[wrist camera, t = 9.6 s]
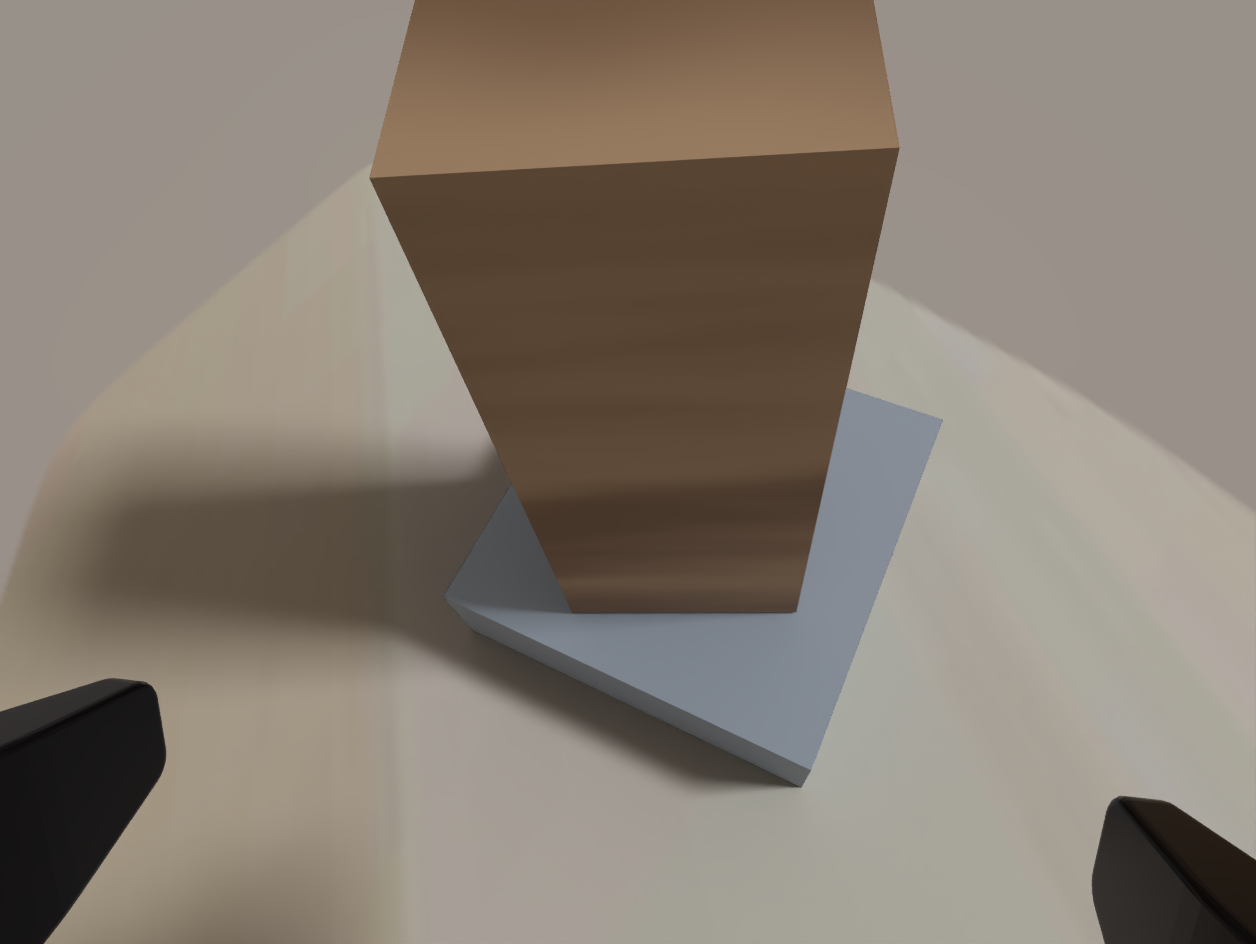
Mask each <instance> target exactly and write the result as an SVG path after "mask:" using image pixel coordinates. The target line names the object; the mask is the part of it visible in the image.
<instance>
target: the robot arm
mask: <svg viewBox="0 0 1256 944" xmlns="http://www.w3.org/2000/svg"><path fill="white" fill-rule="evenodd" d="M165 762H166V746H165V740H164V734H163V728H162V721H161V715H160V709H159V703H158V698H157V694H156V692H155V690H154V689H153V687H152V686H151V685H149V684H148V683H146V682H142V681H134V680H125V679H117V678H110V679H104V680H101V681H97V682H94V683H91V684H88V685H85V686H81V687H78V688H75V689H72V690H68V691H65V692H62V693H59V694H56V695H52V696H49V697H46V698H43V699H39V700H36V701H33V702H30V703H27V704H23V705H20V706H17V707H14V708H10V709H7V710H4V711H1V712H0V944H44V943H45V942H46V940H47V939H48V938H49V936H50V935H51V934H52V933H53V931H54V930H55V929H56V927H57V926H58V925H59V924H60V922H61V921H62V920H63V918H64V917H65V916H66V914H67V913H68V911H69V910H70V909H71V907H72V906H73V904H74V903H75V902H76V900H77V899H78V897H79V896H80V895H81V893H82V892H83V890H84V889H85V887H86V886H87V884H88V883H89V881H90V880H91V878H92V877H93V875H94V874H95V873H96V871H97V870H98V868H99V867H100V865H101V864H102V862H103V861H104V859H105V858H106V856H107V855H108V853H109V852H110V850H111V849H112V848H113V846H114V845H115V843H116V842H117V840H118V839H119V837H120V836H121V834H122V833H123V831H124V830H125V828H126V827H127V825H128V824H129V823H130V821H131V820H132V818H133V817H134V815H135V814H136V812H137V811H138V809H139V808H140V806H141V805H142V803H143V802H144V800H145V799H146V798H147V796H148V795H149V793H150V792H151V790H152V789H153V787H154V786H155V784H156V783H157V781H158V780H159V778H160V776H161V774H162V772H163V769H164V766H165ZM1092 895H1093V902H1094V906H1095V910H1096V913H1097V917H1098V921H1099V924H1100V928H1101V932H1102V935H1103V939H1104V942H1105V944H1256V860H1255V859H1254V858H1252V857H1251V856H1249V855H1248V854H1246V853H1245V852H1243V851H1242V850H1240V849H1239V848H1237V847H1236V846H1234V845H1233V844H1231V843H1230V842H1228V841H1227V840H1225V839H1224V838H1222V837H1221V836H1219V835H1218V834H1216V833H1215V832H1213V831H1212V830H1210V829H1209V828H1207V827H1206V826H1204V825H1203V824H1201V823H1200V822H1198V821H1197V820H1195V819H1194V818H1192V817H1191V816H1189V815H1188V814H1186V813H1185V812H1183V811H1182V810H1181V809H1179V808H1178V807H1176V806H1175V805H1173V804H1171V803H1169V802H1166V801H1163V800H1155V799H1146V798H1137V797H1128V796H1118V797H1117V798H1115V799H1113V800H1112V801H1111V803H1110V804H1109V806H1108V808H1107V811H1106V815H1105V820H1104V824H1103V829H1102V833H1101V838H1100V842H1099V846H1098V851H1097V855H1096V860H1095V864H1094V869H1093V874H1092Z"/></svg>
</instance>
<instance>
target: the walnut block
mask: <svg viewBox="0 0 1256 944" xmlns="http://www.w3.org/2000/svg"><path fill="white" fill-rule="evenodd" d="M898 152H899V142H898V136H897V131H896V124H895V119H894V113H893V108H892V102H891V96H890V91H889V85H888V80H887V74H886V69H885V63H884V58H883V53H882V46H881V41H880V35H879V29H878V24H877V18H876V13H875V7H874V1H873V0H415V3H414V7H413V10H412V14H411V18H410V22H409V26H408V30H407V34H406V38H405V41H404V45H403V49H402V53H401V57H400V61H399V65H398V69H397V73H396V76H395V80H394V84H393V88H392V92H391V96H390V100H389V104H388V108H387V112H386V115H385V119H384V123H383V127H382V131H381V135H380V139H379V143H378V147H377V150H376V155H375V158H374V162H373V166H372V170H371V174H370V180H371V182H372V184H373V187H374V189H375V191H376V193H377V195H378V197H379V199H380V202H381V204H382V206H383V208H384V210H385V212H386V214H387V217H388V219H389V221H390V223H391V225H392V227H393V230H394V232H395V234H396V236H397V238H398V240H399V242H400V245H401V247H402V249H403V251H404V253H405V255H406V257H407V260H408V262H409V264H410V266H411V268H412V270H413V272H414V275H415V277H416V279H417V281H418V283H419V285H420V287H421V290H422V292H423V294H424V296H425V298H426V300H427V302H428V305H429V307H430V309H431V311H432V313H433V315H434V317H435V320H436V322H437V324H438V326H439V328H440V330H441V332H442V335H443V337H444V339H445V341H446V343H447V345H448V348H449V350H450V352H451V354H452V356H453V358H454V360H455V363H456V365H457V367H458V369H459V371H460V373H461V375H462V378H463V380H464V382H465V384H466V386H467V388H468V390H469V393H470V395H471V397H472V399H473V401H474V403H475V405H476V408H477V410H478V412H479V414H480V416H481V418H482V420H483V423H484V425H485V427H486V429H487V431H488V433H489V435H490V438H491V440H492V442H493V444H494V446H495V448H496V451H497V453H498V455H499V457H500V459H501V461H502V463H503V466H504V468H505V470H506V472H507V474H508V476H509V478H510V481H511V483H512V485H513V487H514V489H515V491H516V493H517V496H518V498H519V500H520V502H521V504H522V506H523V508H524V511H525V513H526V515H527V517H528V519H529V521H530V523H531V526H532V528H533V530H534V532H535V534H536V536H537V538H538V541H539V543H540V545H541V547H542V549H543V551H544V553H545V556H546V558H547V560H548V562H549V564H550V566H551V569H552V571H553V573H554V575H555V577H556V579H557V581H558V584H559V586H560V588H561V590H562V592H563V594H564V596H565V599H566V601H567V603H568V605H569V607H570V609H571V611H572V613H718V612H797V607H798V603H799V598H800V594H801V589H802V585H803V580H804V576H805V571H806V567H807V562H808V558H809V553H810V549H811V544H812V540H813V535H814V531H815V526H816V522H817V517H818V513H819V508H820V504H821V499H822V495H823V490H824V486H825V481H826V477H827V472H828V468H829V463H830V459H831V454H832V450H833V445H834V441H835V436H836V432H837V427H838V423H839V418H840V414H841V409H842V405H843V400H844V396H845V391H846V387H847V382H848V378H849V373H850V369H851V364H852V360H853V355H854V351H855V346H856V342H857V337H858V333H859V328H860V324H861V319H862V315H863V310H864V306H865V301H866V297H867V292H868V288H869V283H870V278H871V274H872V269H873V265H874V260H875V255H876V251H877V247H878V242H879V238H880V233H881V229H882V224H883V220H884V215H885V211H886V206H887V202H888V197H889V193H890V188H891V184H892V179H893V174H894V170H895V166H896V161H897V157H898Z"/></svg>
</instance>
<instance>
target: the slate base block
mask: <svg viewBox="0 0 1256 944" xmlns="http://www.w3.org/2000/svg"><path fill="white" fill-rule="evenodd" d="M942 421H943V420H942V419H939V418H936V417H933V416H930V415H927V414H924V413H921V412H918V411H915V410H912V409H909V408H905V407H902V406H899V405H896V404H893V403H890V402H887V401H884V400H881V399H878V398H875V397H872V396H869V395H866V394H863V393H860V392H857V391H854V390H851V389H848V388H846V391H845V396H844V400H843V405H842V409H841V414H840V418H839V423H838V427H837V432H836V436H835V441H834V445H833V450H832V454H831V459H830V463H829V468H828V472H827V477H826V481H825V486H824V490H823V495H822V499H821V504H820V508H819V513H818V517H817V522H816V526H815V531H814V535H813V540H812V544H811V549H810V553H809V558H808V562H807V567H806V571H805V576H804V580H803V585H802V589H801V594H800V598H799V603H798V607H797V612H718V613H572V611H571V609H570V607H569V605H568V603H567V601H566V599H565V596H564V594H563V592H562V590H561V588H560V586H559V584H558V581H557V579H556V577H555V575H554V573H553V571H552V569H551V566H550V564H549V562H548V560H547V558H546V556H545V553H544V551H543V549H542V547H541V545H540V543H539V541H538V538H537V536H536V534H535V532H534V530H533V528H532V526H531V523H530V521H529V519H528V517H527V515H526V513H525V511H524V508H523V506H522V504H521V502H520V500H519V498H518V496H517V493H516V491H515V489H514V487H513V485H512V483H511V485H510V487H509V488H508V490H507V492H506V493H505V495H504V497H503V498H502V500H501V502H500V503H499V505H498V507H497V508H496V510H495V512H494V513H493V515H492V517H491V518H490V520H489V522H488V523H487V525H486V526H485V528H484V530H483V531H482V533H481V535H480V536H479V538H478V540H477V541H476V543H475V545H474V546H473V548H472V550H471V551H470V553H469V555H468V556H467V558H466V560H465V561H464V563H463V565H462V566H461V568H460V570H459V571H458V573H457V575H456V576H455V578H454V580H453V581H452V583H451V584H450V586H449V588H448V589H447V591H446V593H445V594H444V596H443V597H444V599H445V600H446V601H447V602H448V603H449V604H450V605H451V607H452V608H453V609H454V610H455V611H456V612H457V613H458V615H459V616H460V617H461V618H462V619H463V620H464V621H465V623H466V624H467V625H468V626H469V627H470V628H471V629H472V630H474V631H476V632H478V633H480V634H482V635H484V636H486V637H488V638H490V639H492V640H494V641H496V642H499V643H501V644H503V645H505V646H507V647H509V648H511V649H513V650H515V651H517V652H519V653H522V654H524V655H526V656H528V657H530V658H532V659H534V660H536V661H538V662H540V663H542V664H544V665H547V666H549V667H551V668H553V669H555V670H557V671H559V672H561V673H563V674H565V675H567V676H570V677H572V678H574V679H576V680H578V681H580V682H582V683H584V684H586V685H588V686H590V687H592V688H595V689H597V690H599V691H601V692H603V693H605V694H607V695H609V696H611V697H613V698H615V699H618V700H620V701H622V702H624V703H626V704H628V705H630V706H632V707H634V708H636V709H638V710H640V711H643V712H645V713H647V714H649V715H651V716H653V717H655V718H657V719H659V720H661V721H663V722H665V723H668V724H670V725H672V726H674V727H676V728H678V729H680V730H682V731H684V732H686V733H688V734H691V735H693V736H695V737H697V738H699V739H701V740H703V741H705V742H707V743H709V744H711V745H713V746H716V747H718V748H720V749H722V750H724V751H726V752H728V753H730V754H732V755H734V756H736V757H739V758H741V759H743V760H745V761H747V762H749V763H751V764H753V765H755V766H757V767H759V768H761V769H764V770H766V771H768V772H770V773H772V774H774V775H776V776H778V777H780V778H782V779H784V780H787V781H789V782H791V783H793V784H795V785H797V786H799V787H802V785H803V784H804V782H805V780H806V778H807V776H808V775H809V773H810V771H811V769H812V766H813V764H814V761H815V758H816V756H817V753H818V750H819V748H820V745H821V742H822V740H823V737H824V734H825V732H826V729H827V726H828V724H829V721H830V718H831V716H832V713H833V710H834V708H835V705H836V702H837V700H838V697H839V695H840V692H841V689H842V687H843V684H844V681H845V679H846V676H847V673H848V671H849V668H850V665H851V663H852V660H853V657H854V655H855V652H856V649H857V647H858V644H859V641H860V639H861V636H862V633H863V631H864V628H865V625H866V623H867V620H868V617H869V615H870V612H871V610H872V607H873V604H874V602H875V599H876V596H877V594H878V591H879V588H880V586H881V583H882V580H883V578H884V575H885V572H886V570H887V567H888V564H889V562H890V559H891V556H892V554H893V551H894V548H895V546H896V543H897V540H898V538H899V535H900V532H901V530H902V527H903V525H904V522H905V519H906V517H907V514H908V511H909V509H910V506H911V503H912V501H913V498H914V495H915V493H916V490H917V487H918V485H919V482H920V479H921V477H922V474H923V471H924V469H925V466H926V463H927V461H928V458H929V455H930V453H931V450H932V447H933V445H934V442H935V440H936V437H937V434H938V432H939V429H940V426H941V424H942Z"/></svg>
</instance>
